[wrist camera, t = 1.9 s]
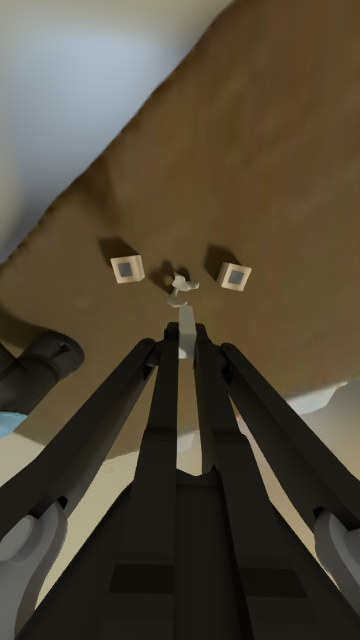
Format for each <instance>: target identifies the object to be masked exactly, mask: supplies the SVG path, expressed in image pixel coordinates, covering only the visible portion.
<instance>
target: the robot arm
mask: <svg viewBox="0 0 360 640" xmlns="http://www.w3.org/2000/svg"><path fill="white" fill-rule="evenodd" d="M193 356H194V362H193V368H192V369H194V376H195V386H196V397H197V407H198V418H199V428H200V438H201V450H202V475H199V476H193V475H191V474H188V473H186V472H184V471H181V470H179V469H177V468H176V458H177V400H178V364H179V358H185V359H193ZM83 361H84V353H83V350H82V349H81V347H80V346H79V345H78V344H77V343H76V342H75V341H74V340H72V339H70V338H69V337H67V336H64V335H62V334H58V333H44V334H41V335H40V336H38V337H36V338H35V339H33V340H32V341H31V342H30V344H29V345H28V347H27V348H26V349H25V350H24V351H23V352H22V354H21V355H20V356H19V357H18V358H15V357H14V356H13V355H12V354H11V353H10V352H9V351H8V350H7V349H6V348H5V347H4V346H3V345H2V344H1V342H0V439H1V438H3V437H5V436H7V435H8V434H10V433H11V432H12V431H13V430H14V429H15V428H16V427H17V426H18V425H19V424H20V423H21V422H22V421H23V420H24V419H26V418H27V416H28V415H29V413H30V412H31V411H32V410H33V409H34V408H35V407H36V406H37V405H38V404H39V402H40V401H41V400H42V399H43V398H44V397H45V396H46V395H47V394H48V392H49V391H50V390H51V389H52V388H53V387H54V386H55V385H56V384H57V383H58V382H59V381H60V380H61V379H63V378H64V377H66V376H68V375H69V374H70V373H72V372H74V371H76V370H77V369H78V368H79V367H80V366H81V364H82V363H83ZM158 365H159V367H158V372H157V377H156V382H155V387H154V392H153V397H152V402H151V407H150V413H149V418H148V423H147V427H146V429H145V431H144V434H143V438H142V442H141V447H140V452H139V457H138V461H137V466H136V471H135V476H134V480H133V481H132V482H131V483H130V484H129V485H128V486H127V487H126V488H125V489H124V490H123V491H122V492H121V494H120V495H119V496H118V498H117V499H116V500H115V502H114V503H113V504H112V506H111V507H110V508H109V510H108V511H107V513H106V514H105V515H104V517H103V518H102V519H101V521H100V522H99V523H98V525H97V526H96V528H95V529H94V530H93V532H92V533H91V535H90V536H89V537H88V538H87V540H86V541H85V543H84V544H83V545H82V547H81V548H80V549H79V551H78V552H77V554H76V555H75V556H74V558H73V559H72V561H71V562H70V563H69V565H68V566H67V567H66V569H65V570H64V571H63V573H62V574H61V576H60V577H59V578H58V580H57V581H56V582H55V584H54V585H53V587H52V588H51V589H50V591H49V592H48V593H47V595H46V596H45V598H44V599H43V600H42V602H41V603H40V604H39V606H38V607H37V608H36V610H35V605H36V602H37V599H38V595H39V592H40V590H41V587H42V585H43V583H44V580H45V578H46V576H47V574H48V573H49V571H50V569H51V567H52V565H53V564H54V562H55V560H56V559H57V557H58V555H59V553H60V551H61V549H62V546H63V544H64V542H65V538H66V534H67V525H68V522H67V519H68V517H69V516H70V515H71V513H72V512H73V510H74V509H75V508H76V506H77V505H78V503H79V502H80V500H81V499H82V497H83V496H84V494H85V493H86V491H87V489H88V487H89V486H90V484H91V483H92V481H93V479H94V478H95V476H96V474H97V472H98V470H99V469H100V467H101V465H102V463H103V461H104V459H105V458H106V456H107V454H108V452H109V450H110V449H111V447H112V445H113V443H114V441H115V440H116V438H117V436H118V434H119V432H120V431H121V429H122V427H123V425H124V423H125V422H126V420H127V418H128V416H129V414H130V412H131V411H132V409H133V407H134V405H135V403H136V402H137V400H138V398H139V396H140V394H141V393H142V391H143V389H144V387H145V385H146V384H147V382H148V380H149V378H150V376H151V375H152V373H153V371H154V369H155V367H156V366H158ZM228 394H229V395H230V397H231V399H232V401H233V402H234V404H235V406H236V408H237V409H238V411H239V413H240V415H241V416H242V418H243V420H244V422H245V423H246V425H247V427H248V429H249V430H250V432H251V434H252V436H253V437H254V439H255V441H256V443H257V444H258V446H259V448H260V450H261V451H262V453H263V455H264V457H265V458H266V460H267V462H268V463H269V465H270V467H271V469H272V470H273V472H274V474H275V476H276V477H277V479H278V481H279V483H280V485H281V486H282V488H283V490H284V491H285V493H286V495H287V496H288V498H289V500H290V501H291V503H292V504H293V506H294V507H295V509H296V510H297V512H298V513H299V515H300V516H301V518H302V519H303V520H304V522H305V523H306V525H307V526H308V527H309V528H310V530H311V531H312V533H313V534H314V538H315V542H316V543H315V551H316V554H317V557H318V559H319V561H320V563H321V565H322V566H323V567H324V569H325V570H326V571H327V572H328V573H329V574H331V575H332V577H333V579H334V580H335V581H336V583H337V585H338V587H339V589H340V590H339V589H338V588H337V586H336V585H335V584H334V583H333V581H332V580H331V579H330V577H329V576H328V575H327V574H326V572H325V571H324V570H323V568H322V567H321V566H320V565H319V563H318V562H317V561H316V559H315V558H314V557H313V556H312V554H311V553H310V552H309V550H308V549H307V548H306V547H305V545H304V544H303V543H302V541H301V540H300V539H299V537H298V536H297V535H296V534H295V532H294V531H293V530H292V528H291V527H290V526H289V525H288V523H287V522H286V521H285V519H284V518H283V517H282V515H281V514H280V513H279V512H278V510H277V509H276V508H275V506H274V505H273V504H272V503H271V501H270V500H269V497H268V494H267V491H266V489H265V486H264V483H263V480H262V477H261V474H260V471H259V468H258V465H257V462H256V460H255V457H254V454H253V451H252V448H251V445H250V443H249V441H248V439H247V437H246V436H245V435H244V434H242V433H241V432H240V430H239V427H238V424H237V420H236V417H235V414H234V411H233V408H232V405H231V401H230V398H229V395H228ZM340 591H341V592H340ZM34 610H35V611H34ZM0 640H360V481H359V480H358V479H357V478H356V477H355V476H353V475H352V474H351V473H350V472H349V471H348V470H347V468H346V467H345V466H344V465H343V464H342V463H341V462H340V461H339V460H338V459H337V457H336V456H335V455H334V454H333V453H332V452H331V451H330V450H329V449H328V448H327V446H326V445H325V444H324V443H323V442H322V441H321V440H320V439H319V438H318V437H317V435H316V434H314V432H313V431H312V430H311V429H310V428H309V427H308V426H307V424H306V423H305V422H304V421H303V420H302V419H301V418H300V417H299V416H298V415H297V413H296V412H295V411H294V410H293V409H292V408H291V407H290V406H289V405H288V404H287V402H286V401H285V400H284V399H283V398H282V397H281V396H280V395H279V394H278V393H277V391H276V390H275V389H274V388H273V387H272V386H271V385H270V384H269V383H268V382H267V380H266V379H265V378H264V377H263V376H262V375H261V374H260V373H259V372H258V371H257V369H256V368H255V367H254V366H253V365H252V364H251V363H250V362H249V361H248V360H247V358H246V357H245V356H244V355H243V354H242V353H241V352H240V351H239V350H238V349H237V347H236V346H234V345H233V344H230V343H222V344H221V346H218V345H215V344H213V343H212V341H211V340H210V339H209V338H208V336H207V332H206V329H205V326H204V325H203V324H198V323H195V322H194V316H193V310H192V306H185V305H180V312H179V323H178V322H170V323H168V325H167V328H166V329H165V330H164V340H162V341H159V342H155V341H154V340H153V339H151V338H145V339H142V340H141V341H140V342H139V343H138V344H137V345H136V346H135V347H134V348H133V349H132V351H131V352H130V353H129V354H128V355H127V356H126V357H125V358H124V360H123V361H122V362H121V363H120V364H119V365H118V366H117V367H116V369H115V370H114V371H113V372H112V373H111V374H110V375H109V376H108V378H107V379H106V380H105V381H104V382H103V383H102V384H101V385H100V387H99V388H98V389H97V390H96V391H95V392H94V393H93V394H92V395H91V397H90V398H89V399H88V400H87V401H86V402H85V403H84V404H83V406H82V407H81V408H80V409H79V410H78V411H77V412H76V413H75V415H74V416H73V417H72V418H71V419H70V420H69V421H68V422H67V424H66V425H65V426H64V427H63V428H62V429H61V430H60V431H59V433H58V434H57V435H56V436H55V437H54V438H53V439H52V440H51V442H50V443H49V444H48V445H47V446H46V447H45V448H44V449H43V451H42V452H41V453H40V454H39V455H38V456H37V457H36V459H34V460H33V461H32V462H31V463H30V464H28V465H27V466H26V467H25V468H23V469H22V470H21V471H20V472H18V473H17V474H16V475H15V476H14V477H12V478H11V479H10V480H9V481H7V482H6V483H5V484H4V485H2V486H1V487H0Z"/></svg>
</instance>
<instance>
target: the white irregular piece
mask: <svg viewBox="0 0 360 640" xmlns="http://www.w3.org/2000/svg"><path fill="white" fill-rule="evenodd" d="M174 277H175V280H174V282H173V283H172V286H173V287H175V288H174V290H173V292H172V294H171V295H170V296H169V297H168V298H167V300H166V302H167V304H169V305H171V306H173V307H180V305H186V304H187V303H188V301H186V300H182V301H179V300H177V292H178V290H181V291H188V290H190V289H197V288H198V287H199V283H200V282H199V283H198V282H196V281H195V280H194V281H190V282H189V281H185V278H184V277H183V276H182V275H179V274H178V273H176V272H175V271H174Z"/></svg>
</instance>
